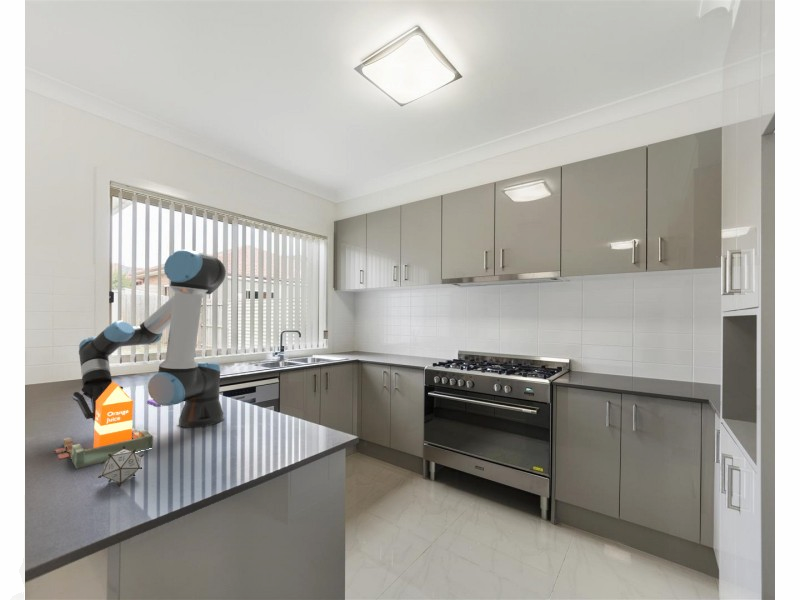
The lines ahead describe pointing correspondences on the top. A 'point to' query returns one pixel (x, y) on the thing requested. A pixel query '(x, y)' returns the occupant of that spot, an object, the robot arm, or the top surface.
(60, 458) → the trap strips
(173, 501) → the top surface
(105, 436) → the orange juice
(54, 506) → the top surface
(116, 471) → the game die
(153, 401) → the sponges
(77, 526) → the top surface
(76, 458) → the tray
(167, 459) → the top surface
